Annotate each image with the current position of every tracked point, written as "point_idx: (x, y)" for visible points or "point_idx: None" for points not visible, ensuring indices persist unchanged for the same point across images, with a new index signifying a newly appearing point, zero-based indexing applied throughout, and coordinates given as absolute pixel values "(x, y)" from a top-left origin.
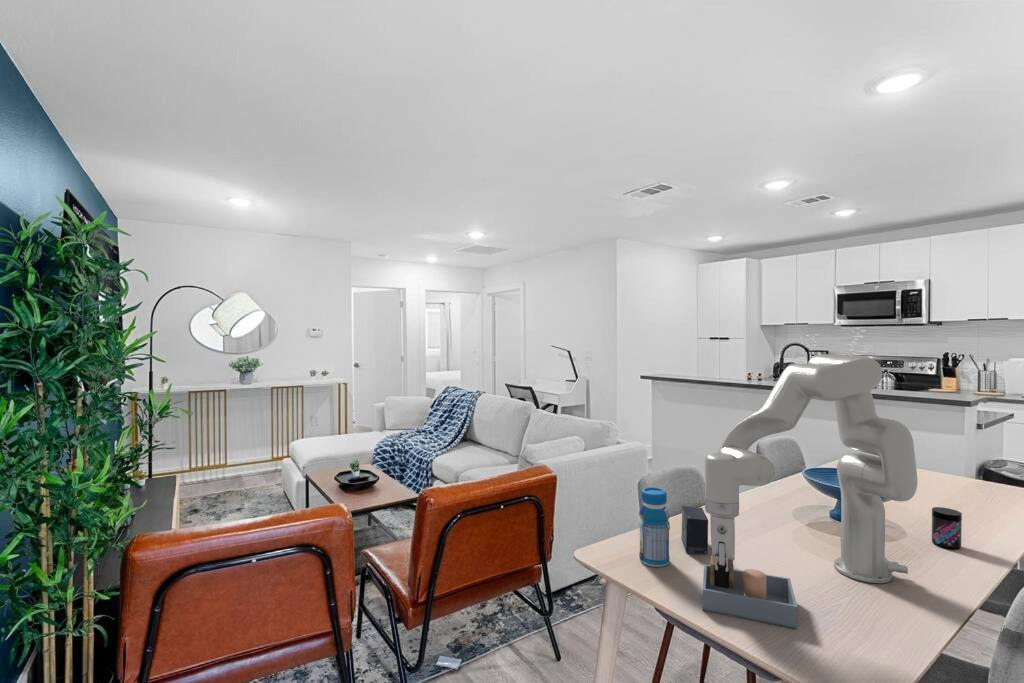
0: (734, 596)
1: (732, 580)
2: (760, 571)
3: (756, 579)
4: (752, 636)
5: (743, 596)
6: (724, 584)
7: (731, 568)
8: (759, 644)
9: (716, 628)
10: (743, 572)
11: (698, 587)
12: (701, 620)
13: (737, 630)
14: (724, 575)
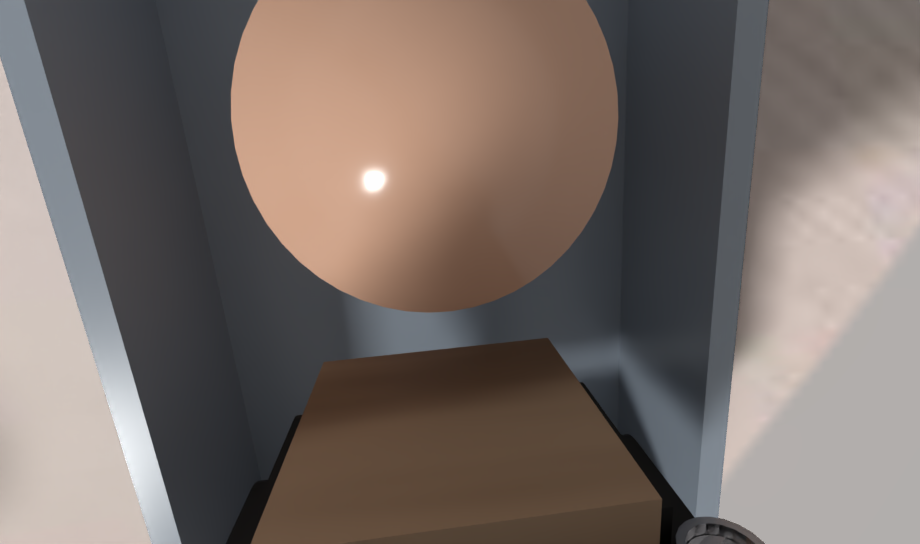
0: (730, 318)
1: (576, 389)
2: (256, 18)
3: (596, 96)
4: (823, 144)
5: (735, 241)
6: (631, 440)
7: (651, 514)
8: (899, 99)
9: (790, 350)
10: (436, 301)
11: None
12: (731, 433)
13: (780, 236)
14: (684, 517)
